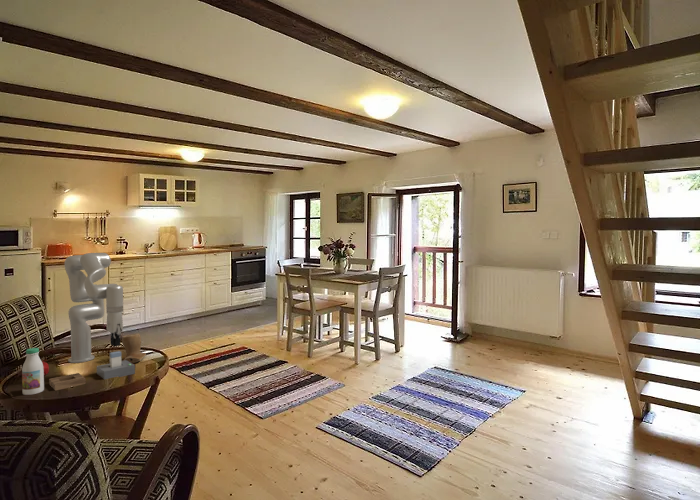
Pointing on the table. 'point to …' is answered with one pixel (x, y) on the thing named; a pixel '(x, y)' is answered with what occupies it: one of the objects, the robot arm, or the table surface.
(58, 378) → the slotted socket block
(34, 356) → the milk bottle
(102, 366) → the port block
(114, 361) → the plug
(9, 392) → the table surface
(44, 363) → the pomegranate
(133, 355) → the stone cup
